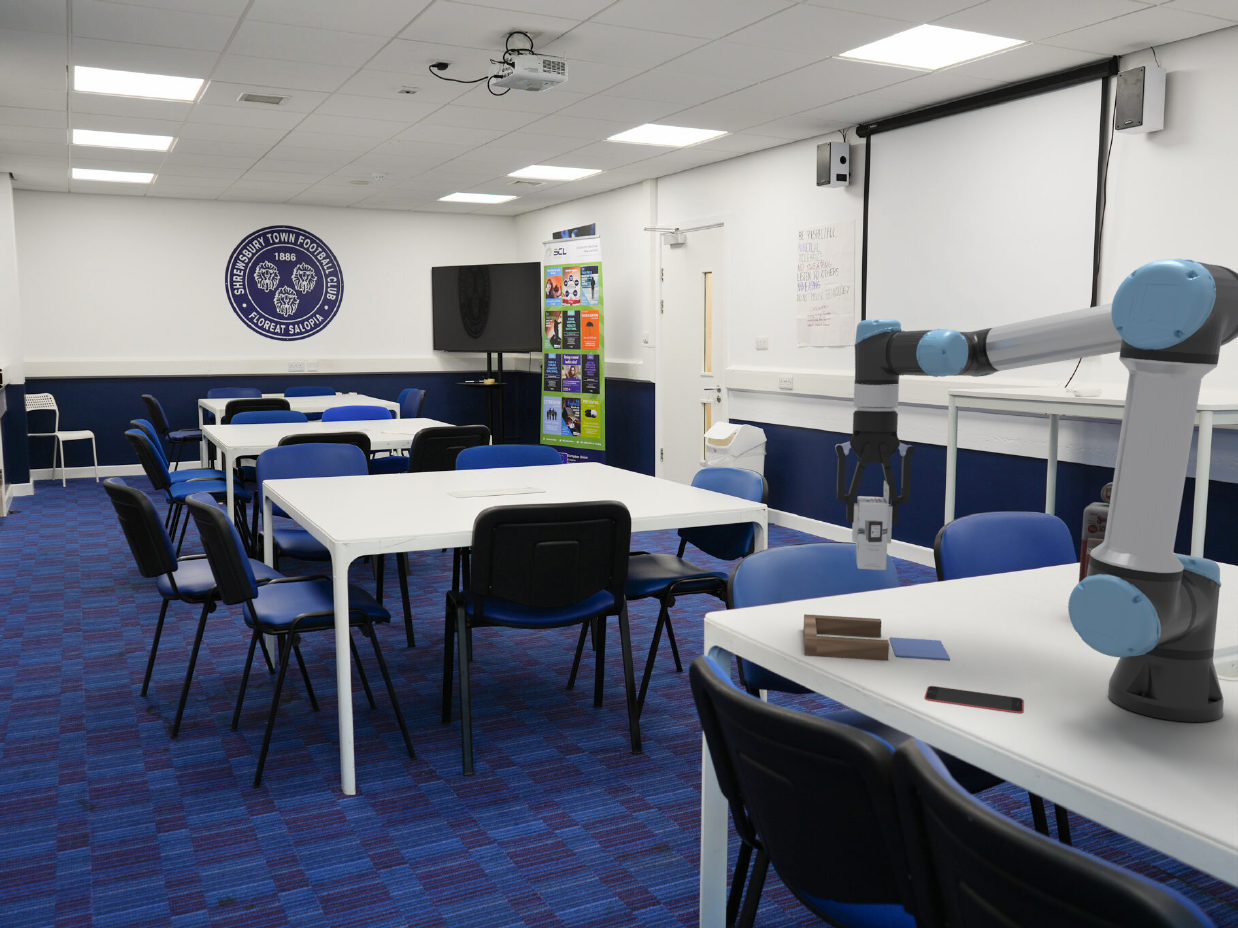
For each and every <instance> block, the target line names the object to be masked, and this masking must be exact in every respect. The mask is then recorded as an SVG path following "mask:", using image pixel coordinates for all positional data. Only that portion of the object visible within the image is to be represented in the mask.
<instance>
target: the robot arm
mask: <svg viewBox="0 0 1238 928" xmlns="http://www.w3.org/2000/svg"><path fill="white" fill-rule="evenodd" d="M901 325H902V324H901V322H900V321H899V320H896V319H865V320H864V319H863V320H861V321H860V322H858V324H857V326H856V331H855V332H856V333H855V343H854V384H853V385H854V387H853V407H854V408H856V410H854V412H853V413H852V417H853V418H852V435H851V437H850V439H849V441H847V442H844V443H837V444H835V446H834V448H835V449H834V450H835V452H836V455H837V471H836V472H837V474H836V475H837V476H836V498H837V501H840V502H843V503H845V504H846V516H845V517H846V521H847V523H850V524H851V523H852V528H851V531H852V532H851V540H852V542H853V543H856V542H858V504H857V503H855V502H856V499H857V497H858V492H859V489H860V487H861V482H862V479H863V475H864V472H865V469H866V467H867V464H872V463H876V464H877V463H878V464H881V467H882V472H883V475H884V479H885V480H884V481H886V483H887V484H888V485H889V500H890V503H888V533H887V544H892V528H893V525H897V524H898V522H899V508H900V505H903V504H905V503H909V502H910V500H911V472H912V471H911V470H912V468H911V467H912V466H911V465H912V458H913V455H914V453H915V447H914V446H913V445H911V444H905V443H902V442H901V441H900V439H899V437H898V420H899V419H898V417H899V413H898V412H897V411H896V410H895V409H897V408H898V407H899V391H900V389H899V388H900V387H899V383H900V376H913V377H914V376H918V377H919V376H920V377H922V376H923V377H930V376H931V377H933V378H938V377H939V378H940V377H943V378H944V377H948V376H949V377H951V376H954V377H955V376H959V377H960V376H964V377H965V376H966V377H969V376H970V377H976V378H978V377H986V376H989V375H994V374H995V373H998V372H1001V371H1007V370H1016V369H1020V368H1026V367H1032V366H1033V367H1034V366H1040V365H1045V364H1052V363H1059V362H1065V361H1071V360H1077V359H1084V358H1089V357H1095V356H1097V357H1098V356H1101V355H1102V356H1103V355H1108V354H1113V353H1119V357H1118V358H1119V361H1120V362H1121V363H1122V364H1123V366H1124V367H1125V368H1126V369H1127V370H1128V382H1127V387H1126V388H1127V389H1126V393H1125V394H1126V395H1125V402H1124V408H1123V415H1122V420H1121V426H1120V435H1119V441H1118V446H1117V453H1116V460H1115V467H1114V474H1113V480H1112V482H1113V486H1112V492H1111V499H1110V505H1109V512H1108V519H1107V525H1106V532H1105V538H1104V542H1103V543H1102V544H1100V545H1099V546H1097V547H1096V548H1094V549H1092V550H1091V553H1090V558H1089V564H1088V571H1087V577H1086V578H1084V579H1083V580H1082V581H1081V582H1079V581H1078V583H1077V584H1076V585H1075V586H1074V588H1073V589H1072V590H1071V593H1070V596H1069V598H1068V606H1067V607H1068V608H1067V609H1068V617H1069V620H1070V623H1071V625H1072V628H1073V630H1074V631H1075V632H1076V633H1077V634H1078V635H1079V637H1080V638H1081V640H1082V641H1083V642H1084V643H1085V644H1086V645H1087V646H1089V647H1090V649H1093V650H1094V651H1096V652H1098V653H1100V654H1102V655H1105V656H1108V657H1114V658H1119V659H1118V661H1117V663H1116V665H1115V668H1114V669H1113V672H1112V674H1111V676H1110V678H1109V681H1108V688H1107V697H1108V698H1109V700H1110V701H1111V702H1113V703H1114V704H1116V705H1118V706H1119V707H1121V708H1123V709H1126V710H1128V711H1130V712H1131V711H1132V712H1134V713H1137V714H1140V715H1145V716H1148V717H1152V718H1157V719H1162V720H1166V721H1167V720H1168V721H1174V722H1176V721H1177V722H1188V723H1189V722H1190V723H1199V722H1200V723H1202V722H1210V721H1216V720H1218V719H1220V718H1222V717H1223V714H1224V712H1223V711H1224V697H1223V692H1222V689H1221V685H1220V682H1219V678H1218V675H1217V671H1216V667H1215V665H1214V654H1215V653H1214V652H1215V642H1216V633H1217V632H1216V630H1217V620H1218V608H1219V602H1220V601H1219V600H1220V599H1219V597H1220V588H1221V587H1222V582H1221V569H1220V565H1219V564H1218V563H1217V562H1216V561H1215V560H1212V559H1208V558H1204V557H1199V556H1193V555H1187V554H1181V553H1175V552H1174V550H1175V549H1174V548H1175V543H1176V539H1177V538H1176V537H1177V531H1178V525H1179V524H1178V523H1179V518H1180V514H1181V506H1182V501H1183V494H1184V487H1185V483H1186V477H1187V476H1186V475H1187V469H1188V464H1189V458H1190V457H1189V456H1190V452H1191V447H1192V446H1191V445H1192V439H1193V433H1194V427H1195V421H1196V417H1197V411H1198V410H1197V409H1198V408H1197V407H1198V404H1199V396H1200V390H1201V384H1202V379H1203V378H1204V377H1205V376H1206V375H1207V374H1209V373H1210V372H1211V371H1213V370H1215V369H1216V368H1217V367H1218V364H1219V359H1220V358H1219V357H1220V352H1221V347H1222V346H1224V345H1227V344H1229V343H1231V342H1232V341H1234V340H1236V339H1237V338H1238V272H1236V271H1234V270H1233V269H1232V268H1229V267H1227V266H1222V265H1217V264H1210V263H1206V262H1200V261H1196V260H1192V259H1183V258H1171V259H1167V258H1166V259H1159V260H1154V261H1151V262H1148V263H1145V264H1143V265H1141V266H1140V267H1137V269H1135V270H1133V272H1131V273H1130V274H1128V275H1127V276H1126V278H1124V280H1123V281H1122V282H1121V283H1120V285H1119V286H1118V288H1117V290H1116V291H1115V293H1114V296H1113V299H1112V302H1111V303H1106V304H1102V305H1097V306H1092V307H1091V306H1090V307H1087V308H1082V309H1077V310H1072V311H1067V312H1063V313H1057V314H1052V315H1048V316H1042V317H1037V318H1033V319H1027V320H1024V321H1019V322H1014V323H1008V324H1003V325H999V326H993V327H989V328H983V329H979V330H974V331H973V330H972V331H958V330H955V329H948V328H947V329H945V328H936V329H935V328H934V329H923V330H921V329H920V330H907V331H906V330H902V328H901V327H902V326H901ZM850 449H852V450H853V451H854V453H855V455H856V456H857V457H858V459H857V462H856V467H855V471H854V474H853V477H852V480H851V483H850V487H849V491H848V494H846V493H845V492H846V491H845V489H846V465H847V457H846V456H847V455H849V453H850ZM897 449H899V455H900V456H901V457H902V458H901V479H900V480H901V482H900V484H901V485H900V486H901V487H900V489H901V490H900V495H898V491H897V488H896V484H895V479H894V474H893V470H892V464H891V460H890V459H891V458H892V456H893V455H894V453H895V452H896V451H897Z"/></svg>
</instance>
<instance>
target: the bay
mask: <svg viewBox="0 0 1238 928" xmlns="http://www.w3.org/2000/svg"><path fill="white" fill-rule="evenodd" d="M819 634H820V635H819ZM829 635H830V636H829ZM831 635H833V636H831ZM835 635H836V636H835ZM843 636H845V637H843ZM847 636H850V637H847ZM858 637H860V638H858ZM862 637H867V638H862ZM881 637H882V619H881V618H873V617H872V618H871V617H869V618H868V617H856V616H855V617H854V616H842V615H841V616H837V615H820V614H808V613H807V614H803V646H804V649H803V650H804V655H805V656H813V657H814V656H815V657H831V658H845V659H858V660H859V659H860V660H874V661H875V660H876V661H889V655H890V654H889V653H890V643H889V640H888V639H875V638H881Z"/></svg>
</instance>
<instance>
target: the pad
mask: <svg viewBox="0 0 1238 928" xmlns="http://www.w3.org/2000/svg"><path fill="white" fill-rule="evenodd" d="M889 641H890V645H891V647H892V650H893V654H894V656H895V657H896V658H908V659H909V658H910V659H923V660H925V659H926V660H937V661H938V660H940V661H950V660H951V657H950V656H949V653H948V652H947V650H946V648H945V647H944V644H943V642H942V640H939V639H925V638H923V639H922V638H910V637H909V638H908V637H906V638H905V637H893V636H892V637H891V636H890V637H889Z"/></svg>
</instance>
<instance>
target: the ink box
mask: <svg viewBox="0 0 1238 928" xmlns="http://www.w3.org/2000/svg"><path fill="white" fill-rule="evenodd" d="M856 499H857V503H856V504H858V542H855V562H856V565H857V569H859V570H873V571H874V570H875V571H876V570H877V571H886V570H887V559H888V558H887V555H888V554H887V552H888V543H887V533H888V504H889V500H890V497H889V485H888V484H887V483H886V480H883V496H881V497H880V496H863V495H860V496H859V495H857V498H856Z"/></svg>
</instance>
